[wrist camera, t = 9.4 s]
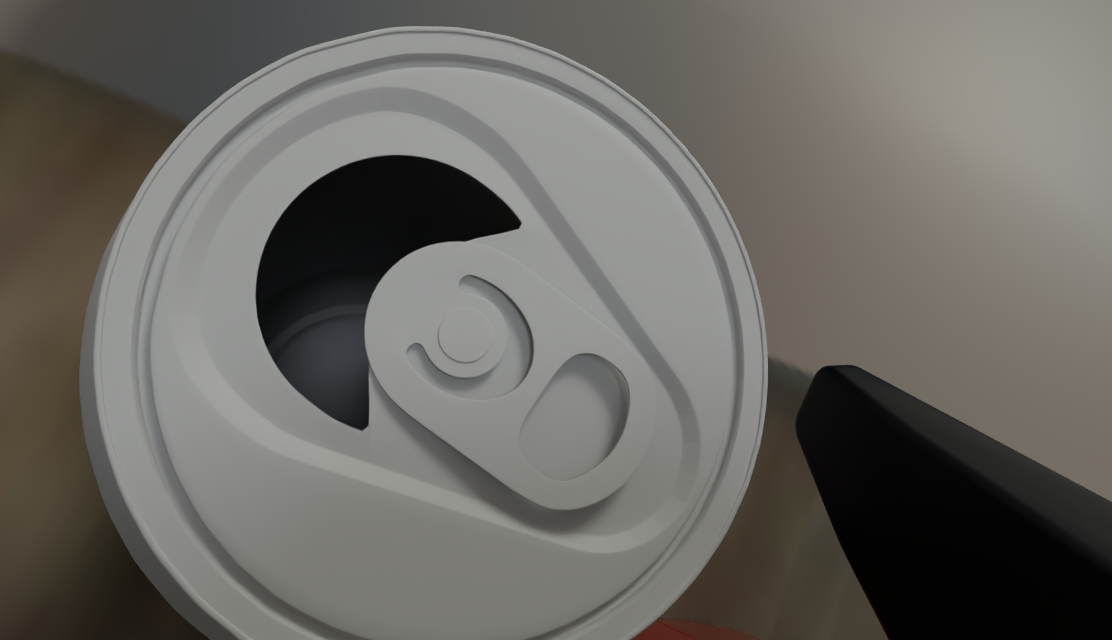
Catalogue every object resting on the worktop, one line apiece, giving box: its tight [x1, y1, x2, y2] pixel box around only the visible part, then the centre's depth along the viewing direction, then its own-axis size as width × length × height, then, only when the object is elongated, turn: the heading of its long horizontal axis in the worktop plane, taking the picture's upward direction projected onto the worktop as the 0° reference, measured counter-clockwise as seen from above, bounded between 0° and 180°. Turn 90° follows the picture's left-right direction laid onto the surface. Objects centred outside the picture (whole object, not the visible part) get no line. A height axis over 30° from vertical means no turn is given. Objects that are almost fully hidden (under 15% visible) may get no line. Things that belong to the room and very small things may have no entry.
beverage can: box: [79, 26, 768, 640], centre depth 12 cm, size 6×6×12 cm
